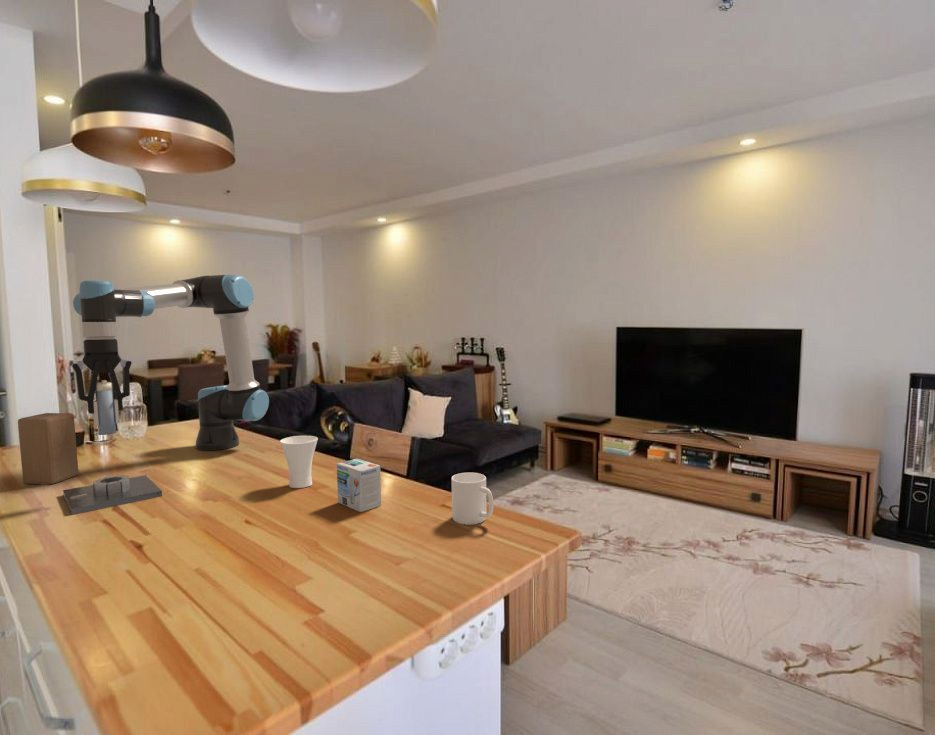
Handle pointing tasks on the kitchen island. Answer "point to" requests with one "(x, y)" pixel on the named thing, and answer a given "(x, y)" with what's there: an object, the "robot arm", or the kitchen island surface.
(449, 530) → the kitchen island surface
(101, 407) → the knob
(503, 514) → the kitchen island surface
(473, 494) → the cup
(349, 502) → the light bulb box
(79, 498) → the base plate
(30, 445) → the wooden block
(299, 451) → the cup
